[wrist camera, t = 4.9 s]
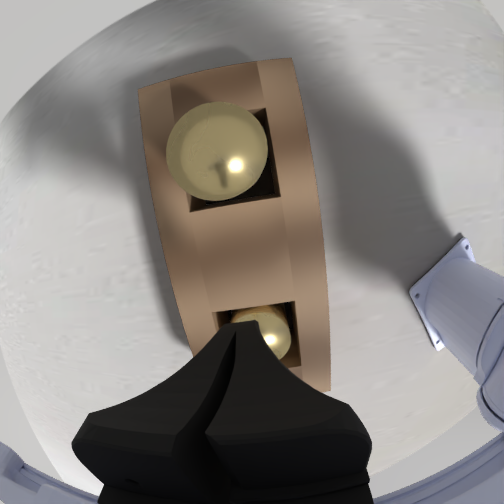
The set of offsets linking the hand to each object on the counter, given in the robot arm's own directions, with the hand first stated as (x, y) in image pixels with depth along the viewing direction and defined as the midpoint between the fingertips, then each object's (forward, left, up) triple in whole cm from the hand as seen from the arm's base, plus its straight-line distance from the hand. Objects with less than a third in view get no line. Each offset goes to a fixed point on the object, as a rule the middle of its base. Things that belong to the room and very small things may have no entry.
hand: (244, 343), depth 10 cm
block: (+2, -1, -10) cm, 11 cm away
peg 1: (+6, -4, -6) cm, 10 cm away
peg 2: (-3, +2, -10) cm, 11 cm away
